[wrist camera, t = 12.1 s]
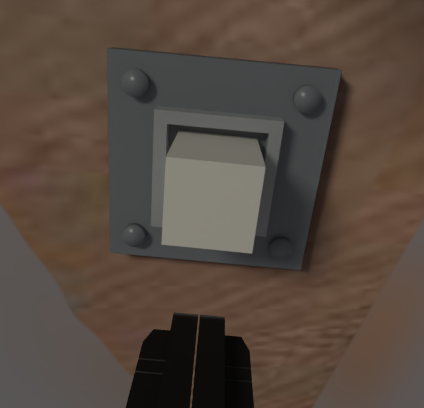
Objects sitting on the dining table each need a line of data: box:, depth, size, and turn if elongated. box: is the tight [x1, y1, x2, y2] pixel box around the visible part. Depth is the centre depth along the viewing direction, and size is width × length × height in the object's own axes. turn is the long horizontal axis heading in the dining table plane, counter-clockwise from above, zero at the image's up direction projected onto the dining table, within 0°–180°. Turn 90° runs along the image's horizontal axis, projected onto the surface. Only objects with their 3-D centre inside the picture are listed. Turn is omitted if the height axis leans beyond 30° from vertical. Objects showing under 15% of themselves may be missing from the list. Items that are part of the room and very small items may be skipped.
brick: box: [161, 130, 266, 254], centre depth 23 cm, size 5×5×6 cm
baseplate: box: [107, 47, 342, 270], centre depth 26 cm, size 14×14×3 cm
